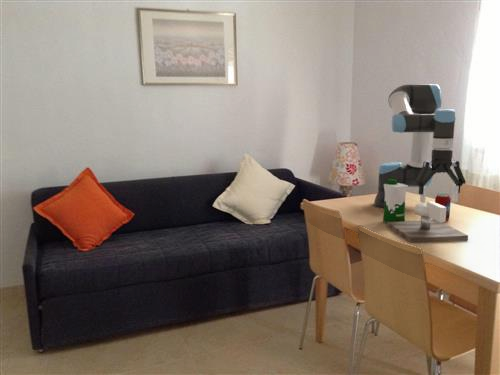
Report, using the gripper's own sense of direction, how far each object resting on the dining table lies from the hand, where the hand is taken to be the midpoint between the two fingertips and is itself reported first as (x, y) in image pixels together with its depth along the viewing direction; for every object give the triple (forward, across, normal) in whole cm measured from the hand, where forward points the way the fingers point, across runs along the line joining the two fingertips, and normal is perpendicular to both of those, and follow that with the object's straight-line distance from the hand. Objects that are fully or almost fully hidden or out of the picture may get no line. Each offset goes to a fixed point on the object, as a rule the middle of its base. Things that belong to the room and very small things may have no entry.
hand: (438, 201), depth 177 cm
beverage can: (+16, +18, +28) cm, 37 cm away
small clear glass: (+14, 0, +9) cm, 17 cm away
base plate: (+16, 0, +10) cm, 18 cm away
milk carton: (+16, -6, +28) cm, 32 cm away
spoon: (+7, 0, +5) cm, 9 cm away
